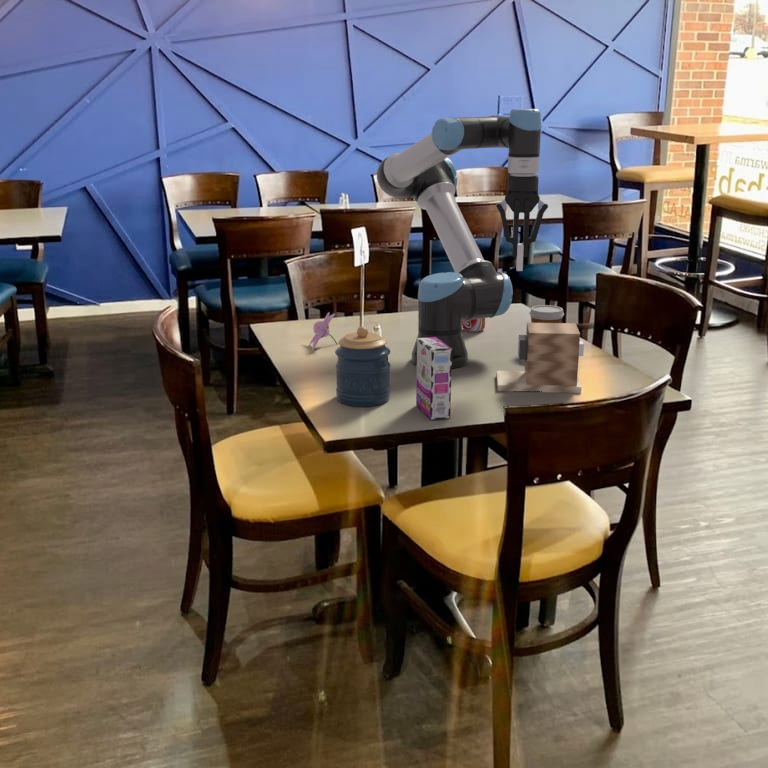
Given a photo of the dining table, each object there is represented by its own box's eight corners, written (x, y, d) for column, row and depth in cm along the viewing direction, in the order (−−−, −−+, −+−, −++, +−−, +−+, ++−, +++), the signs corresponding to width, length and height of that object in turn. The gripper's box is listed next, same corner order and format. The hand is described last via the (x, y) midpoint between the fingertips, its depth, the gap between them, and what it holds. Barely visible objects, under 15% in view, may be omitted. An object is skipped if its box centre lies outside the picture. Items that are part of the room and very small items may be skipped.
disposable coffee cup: (552, 357, 251) (554, 314, 247) (521, 351, 256) (523, 309, 253) (568, 349, 258) (570, 307, 254) (537, 344, 263) (539, 303, 260)
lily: (317, 341, 271) (302, 316, 267) (353, 328, 268) (337, 302, 263) (312, 364, 262) (295, 339, 257) (348, 351, 258) (332, 324, 253)
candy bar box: (452, 419, 205) (453, 348, 200) (430, 421, 204) (431, 350, 199) (435, 403, 215) (436, 335, 210) (415, 405, 214) (415, 337, 209)
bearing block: (497, 391, 223) (499, 333, 219) (496, 376, 235) (498, 321, 230) (581, 393, 222) (584, 335, 217) (575, 378, 233) (579, 322, 228)
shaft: (518, 359, 224) (519, 340, 222) (518, 354, 229) (518, 334, 227) (583, 361, 223) (584, 341, 221) (581, 355, 227) (582, 335, 226)
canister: (401, 401, 217) (401, 328, 211) (354, 411, 210) (352, 337, 205) (371, 386, 227) (371, 317, 222) (326, 396, 221) (324, 325, 215)
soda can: (486, 333, 275) (487, 293, 272) (462, 333, 275) (463, 293, 272) (483, 327, 282) (485, 288, 278) (461, 327, 282) (461, 288, 278)
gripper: (496, 175, 221) (493, 272, 229) (551, 176, 220) (546, 273, 228) (496, 173, 229) (493, 266, 236) (548, 173, 227) (544, 267, 235)
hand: (519, 269), depth 232 cm, fingers closed
